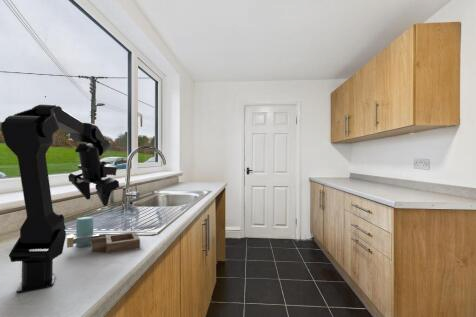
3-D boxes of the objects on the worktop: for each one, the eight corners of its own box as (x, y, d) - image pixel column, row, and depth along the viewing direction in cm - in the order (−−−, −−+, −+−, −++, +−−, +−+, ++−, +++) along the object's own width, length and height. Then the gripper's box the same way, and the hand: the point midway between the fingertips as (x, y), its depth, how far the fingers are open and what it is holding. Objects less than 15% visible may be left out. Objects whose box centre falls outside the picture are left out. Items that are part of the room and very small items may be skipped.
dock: (139, 248, 83) (139, 235, 83) (91, 256, 76) (91, 241, 76) (135, 239, 91) (135, 227, 91) (91, 246, 84) (91, 233, 84)
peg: (93, 245, 85) (93, 219, 85) (75, 248, 82) (76, 220, 82) (93, 241, 89) (93, 216, 89) (76, 243, 87) (76, 217, 87)
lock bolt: (99, 243, 80) (99, 233, 80) (67, 247, 75) (67, 237, 75) (98, 240, 82) (98, 231, 82) (67, 244, 78) (67, 235, 78)
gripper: (129, 159, 87) (134, 199, 92) (94, 150, 94) (100, 187, 99) (100, 169, 77) (107, 213, 82) (63, 158, 85) (71, 199, 90)
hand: (97, 202), depth 89 cm, fingers open, 9 cm apart
